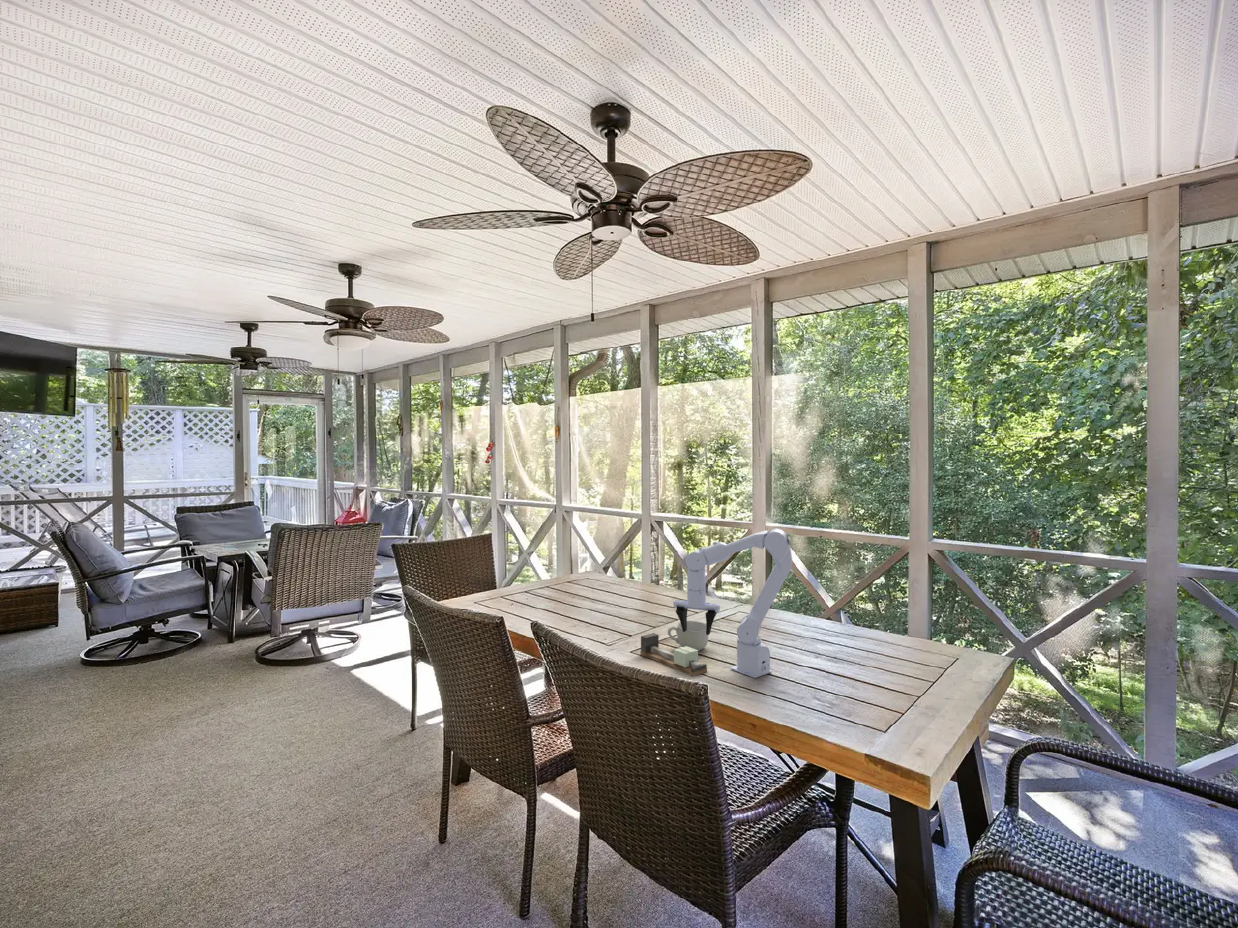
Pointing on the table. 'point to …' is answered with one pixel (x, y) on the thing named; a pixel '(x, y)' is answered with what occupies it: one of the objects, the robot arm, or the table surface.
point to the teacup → (691, 635)
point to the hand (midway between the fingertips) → (696, 632)
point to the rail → (671, 663)
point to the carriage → (685, 656)
